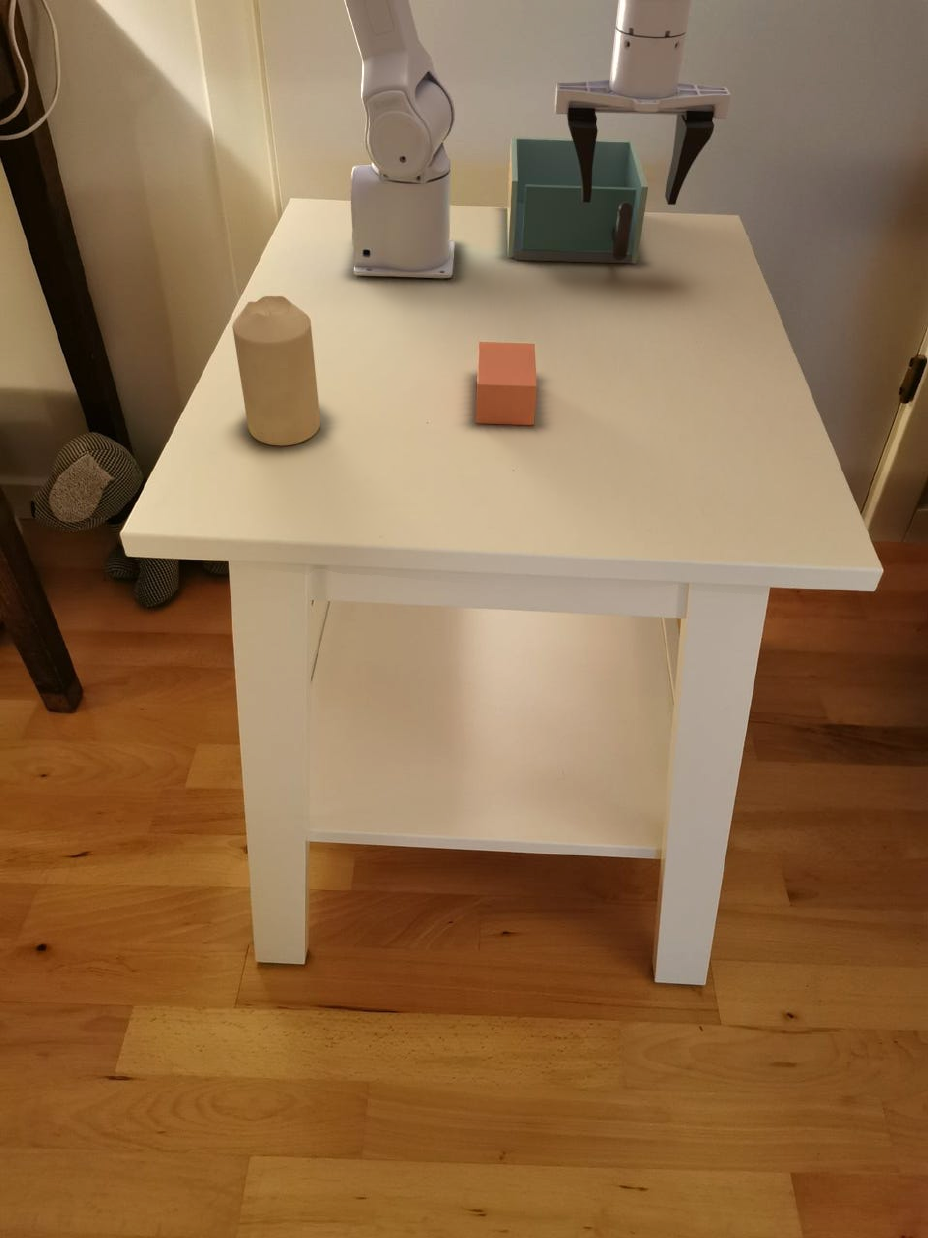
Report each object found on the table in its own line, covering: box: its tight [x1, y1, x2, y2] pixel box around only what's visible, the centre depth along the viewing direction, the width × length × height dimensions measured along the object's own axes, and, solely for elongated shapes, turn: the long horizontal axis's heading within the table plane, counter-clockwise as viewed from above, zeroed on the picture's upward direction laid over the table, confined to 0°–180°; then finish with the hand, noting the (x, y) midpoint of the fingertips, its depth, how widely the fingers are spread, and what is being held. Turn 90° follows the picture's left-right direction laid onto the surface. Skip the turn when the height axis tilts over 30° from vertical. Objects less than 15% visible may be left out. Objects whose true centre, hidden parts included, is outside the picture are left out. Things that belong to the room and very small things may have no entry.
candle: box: [231, 295, 321, 446], centre depth 71 cm, size 6×6×10 cm
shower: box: [506, 136, 649, 265], centre depth 99 cm, size 13×13×8 cm
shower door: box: [522, 184, 637, 261], centre depth 92 cm, size 10×6×6 cm, turn 88°
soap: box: [475, 341, 538, 426], centre depth 77 cm, size 4×6×4 cm
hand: (627, 199), depth 88 cm, fingers open, 7 cm apart
